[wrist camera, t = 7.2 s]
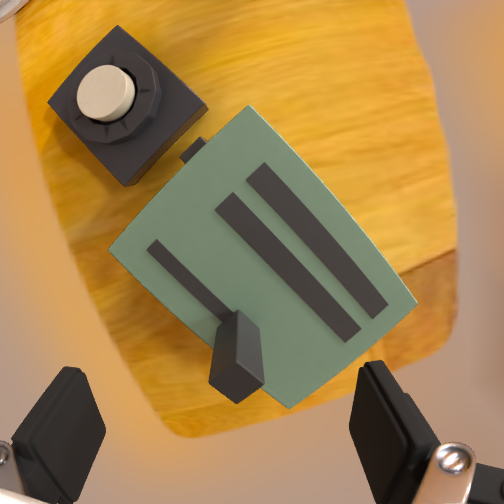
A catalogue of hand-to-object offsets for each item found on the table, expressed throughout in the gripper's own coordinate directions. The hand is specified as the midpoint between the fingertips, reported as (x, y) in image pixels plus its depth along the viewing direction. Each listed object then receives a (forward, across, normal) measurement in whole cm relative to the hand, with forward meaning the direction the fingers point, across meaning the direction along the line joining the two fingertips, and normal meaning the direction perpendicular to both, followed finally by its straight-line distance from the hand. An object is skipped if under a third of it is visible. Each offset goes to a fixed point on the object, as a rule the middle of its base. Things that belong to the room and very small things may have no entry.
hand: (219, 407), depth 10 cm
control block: (+16, +8, -13) cm, 22 cm away
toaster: (+16, -2, -2) cm, 16 cm away
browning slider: (+7, -1, +1) cm, 7 cm away
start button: (+12, +8, -13) cm, 20 cm away
